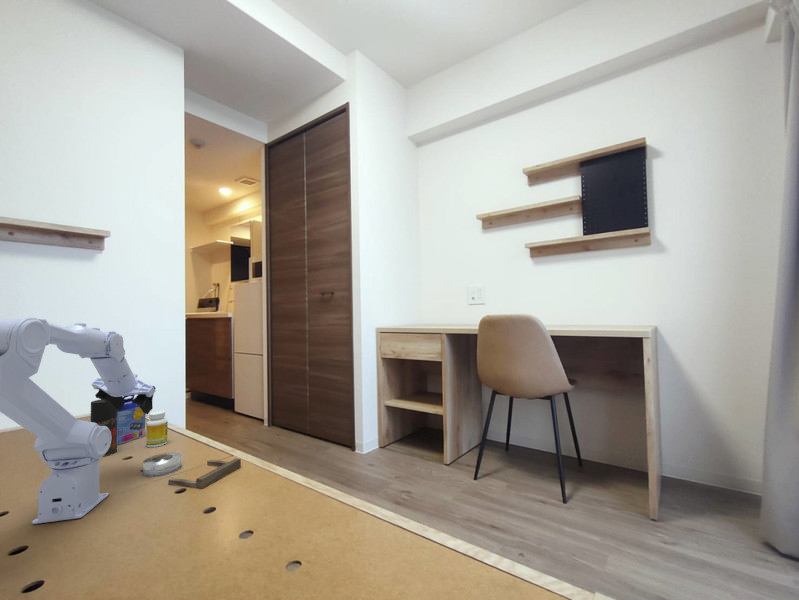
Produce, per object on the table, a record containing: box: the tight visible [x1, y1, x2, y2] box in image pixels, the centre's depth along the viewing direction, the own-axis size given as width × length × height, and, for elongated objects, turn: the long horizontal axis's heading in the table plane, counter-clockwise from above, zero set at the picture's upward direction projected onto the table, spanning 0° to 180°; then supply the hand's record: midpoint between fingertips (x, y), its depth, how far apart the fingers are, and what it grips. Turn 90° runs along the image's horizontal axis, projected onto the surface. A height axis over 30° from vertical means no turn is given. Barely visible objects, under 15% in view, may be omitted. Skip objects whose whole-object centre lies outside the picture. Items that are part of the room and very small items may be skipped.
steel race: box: [142, 452, 182, 478], centre depth 90 cm, size 8×8×3 cm
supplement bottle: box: [145, 410, 169, 448], centre depth 109 cm, size 5×5×10 cm
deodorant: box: [90, 399, 118, 458], centre depth 103 cm, size 6×6×15 cm
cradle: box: [167, 457, 242, 490], centre depth 86 cm, size 10×12×2 cm
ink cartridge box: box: [117, 395, 147, 446], centre depth 115 cm, size 10×6×14 cm, turn 163°
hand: (134, 408), depth 94 cm, fingers open, 7 cm apart
